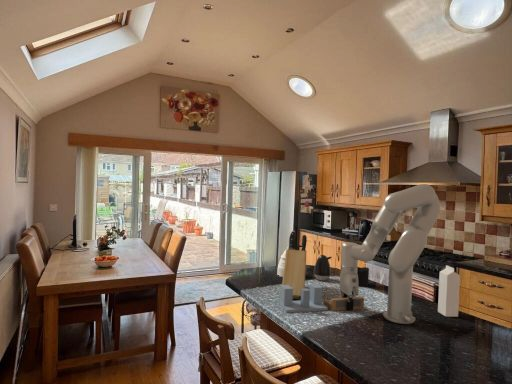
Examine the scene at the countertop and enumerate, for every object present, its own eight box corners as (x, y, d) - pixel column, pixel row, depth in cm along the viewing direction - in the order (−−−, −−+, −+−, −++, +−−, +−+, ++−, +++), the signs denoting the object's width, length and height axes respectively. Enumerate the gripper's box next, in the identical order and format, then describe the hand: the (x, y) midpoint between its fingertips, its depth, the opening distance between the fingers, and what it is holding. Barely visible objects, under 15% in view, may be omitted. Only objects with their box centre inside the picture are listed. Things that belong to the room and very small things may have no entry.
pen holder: (359, 281, 203) (359, 265, 203) (371, 286, 195) (372, 269, 195) (348, 283, 198) (348, 266, 198) (360, 288, 190) (361, 270, 190)
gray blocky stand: (327, 310, 153) (328, 290, 153) (286, 312, 148) (287, 292, 148) (317, 301, 164) (318, 283, 164) (278, 303, 159) (279, 285, 159)
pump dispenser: (332, 282, 200) (333, 257, 199) (315, 281, 200) (316, 256, 200) (328, 277, 210) (329, 253, 210) (312, 276, 210) (313, 252, 210)
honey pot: (299, 277, 207) (300, 248, 207) (278, 277, 206) (279, 248, 206) (295, 272, 220) (296, 245, 220) (275, 272, 219) (277, 244, 219)
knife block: (305, 282, 197) (307, 230, 197) (303, 302, 163) (306, 239, 162) (286, 280, 199) (288, 229, 199) (280, 300, 165) (282, 237, 164)
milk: (449, 312, 157) (452, 265, 157) (458, 317, 151) (460, 268, 151) (437, 311, 157) (439, 264, 157) (445, 316, 151) (447, 268, 150)
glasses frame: (363, 308, 157) (364, 298, 157) (332, 310, 153) (333, 299, 153) (353, 302, 166) (353, 292, 166) (323, 303, 162) (324, 293, 162)
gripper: (366, 273, 148) (364, 314, 149) (347, 264, 164) (345, 301, 165) (350, 274, 147) (349, 315, 147) (333, 265, 163) (331, 302, 163)
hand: (347, 308), depth 156 cm, fingers open, 3 cm apart
